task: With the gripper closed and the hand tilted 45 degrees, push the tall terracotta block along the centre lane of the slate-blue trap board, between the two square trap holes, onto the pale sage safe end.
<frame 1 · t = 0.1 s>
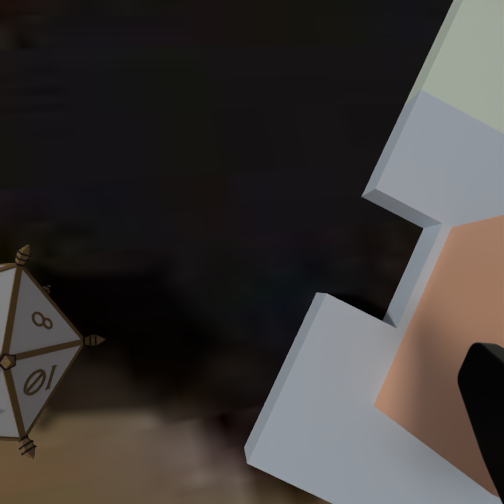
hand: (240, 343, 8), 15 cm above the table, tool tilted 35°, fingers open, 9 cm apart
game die: (23, 338, 22), on the table
trap board: (469, 252, 24), on the table
block: (456, 335, 22), point 2 cm above the table, touching trap board
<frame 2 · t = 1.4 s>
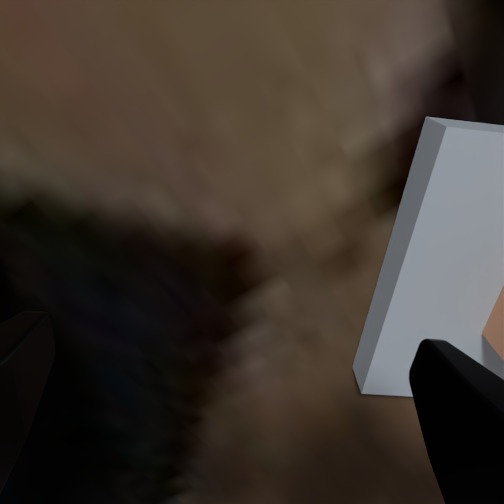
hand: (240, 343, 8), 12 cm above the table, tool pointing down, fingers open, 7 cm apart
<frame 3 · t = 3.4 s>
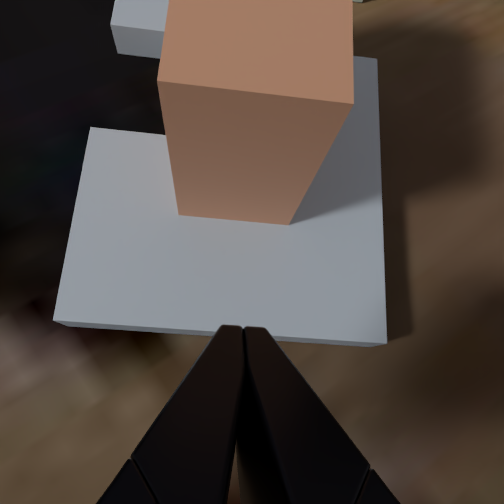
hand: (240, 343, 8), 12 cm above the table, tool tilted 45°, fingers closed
trap board: (243, 68, 24), on the table
block: (241, 124, 21), point 2 cm above the table, touching trap board
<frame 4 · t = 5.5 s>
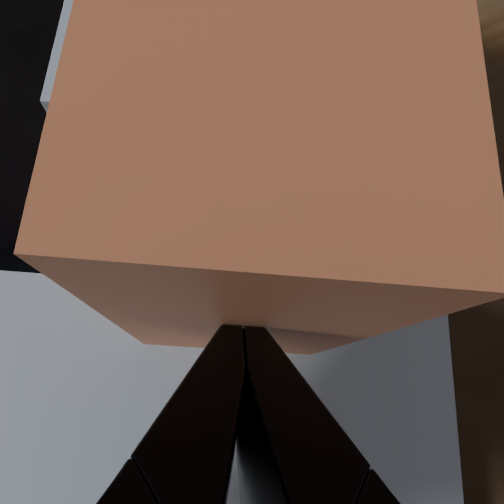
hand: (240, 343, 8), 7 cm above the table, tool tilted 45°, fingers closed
trap board: (239, 152, 17), on the table
block: (239, 197, 14), point 2 cm above the table, touching trap board
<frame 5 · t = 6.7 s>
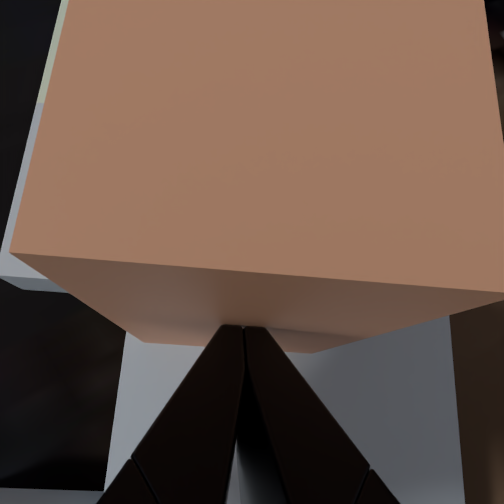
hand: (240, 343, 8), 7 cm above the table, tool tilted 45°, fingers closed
trap board: (228, 304, 15), on the table
block: (240, 194, 14), point 2 cm above the table, touching trap board
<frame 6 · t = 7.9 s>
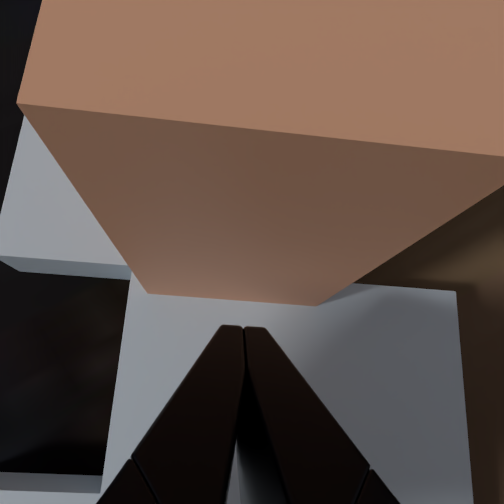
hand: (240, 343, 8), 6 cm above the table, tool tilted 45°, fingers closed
trap board: (230, 287, 15), on the table
block: (243, 150, 14), point 2 cm above the table, touching trap board
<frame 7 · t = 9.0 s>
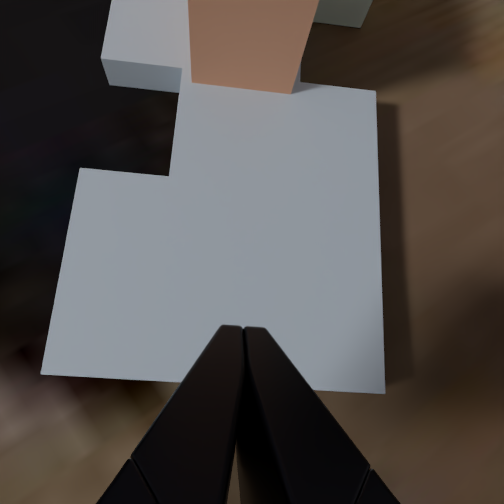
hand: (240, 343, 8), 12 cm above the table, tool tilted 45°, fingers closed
trap board: (239, 99, 24), on the table
block: (247, 9, 23), point 2 cm above the table, touching trap board
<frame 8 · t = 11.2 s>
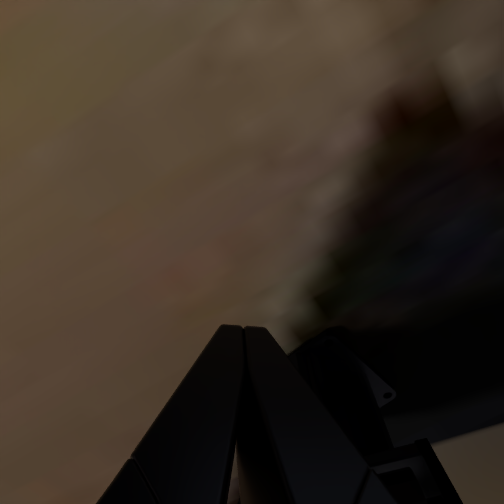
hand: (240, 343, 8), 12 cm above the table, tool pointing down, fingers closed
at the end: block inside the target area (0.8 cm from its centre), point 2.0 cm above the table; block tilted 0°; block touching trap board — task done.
